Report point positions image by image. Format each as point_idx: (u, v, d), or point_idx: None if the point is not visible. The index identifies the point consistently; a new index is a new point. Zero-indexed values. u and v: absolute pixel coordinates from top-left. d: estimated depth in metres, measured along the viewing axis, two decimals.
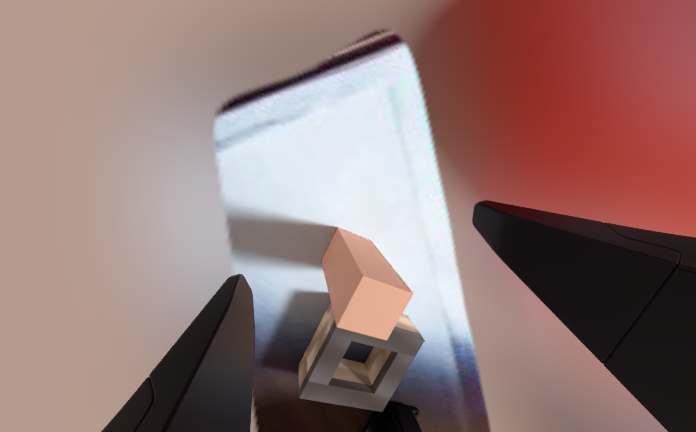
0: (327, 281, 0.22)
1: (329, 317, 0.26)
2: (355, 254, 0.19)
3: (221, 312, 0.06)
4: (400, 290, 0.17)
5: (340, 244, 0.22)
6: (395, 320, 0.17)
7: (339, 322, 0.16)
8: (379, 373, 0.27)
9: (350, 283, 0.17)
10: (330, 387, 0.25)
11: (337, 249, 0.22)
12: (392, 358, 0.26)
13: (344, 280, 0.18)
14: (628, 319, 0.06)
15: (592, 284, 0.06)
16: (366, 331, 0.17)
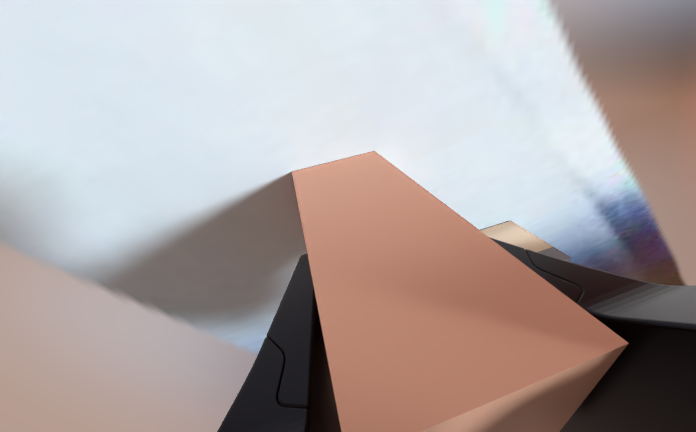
0: None
1: None
2: (326, 253, 0.06)
3: (311, 283, 0.07)
4: (563, 374, 0.03)
5: None
6: (565, 417, 0.05)
7: None
8: None
9: None
10: None
11: None
12: None
13: None
14: None
15: None
16: None
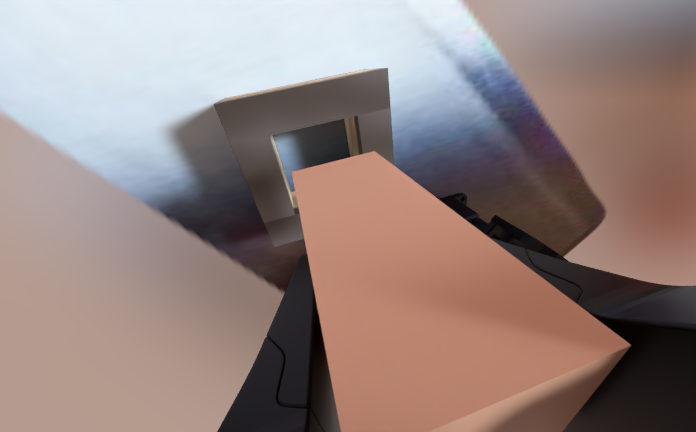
0: None
1: None
2: (326, 253, 0.06)
3: (311, 284, 0.07)
4: (565, 376, 0.03)
5: None
6: (566, 419, 0.05)
7: None
8: None
9: None
10: None
11: None
12: (358, 131, 0.16)
13: None
14: None
15: None
16: None
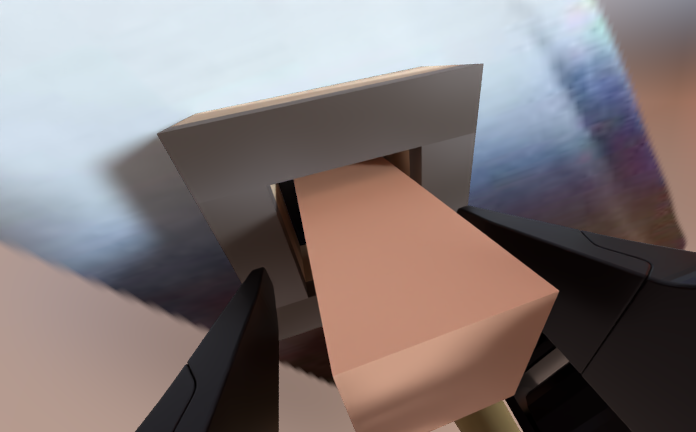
0: None
1: None
2: (320, 232, 0.07)
3: (250, 303, 0.07)
4: (505, 314, 0.04)
5: None
6: (521, 364, 0.05)
7: None
8: None
9: None
10: None
11: None
12: (418, 171, 0.10)
13: None
14: (602, 329, 0.06)
15: (567, 293, 0.06)
16: (449, 418, 0.06)
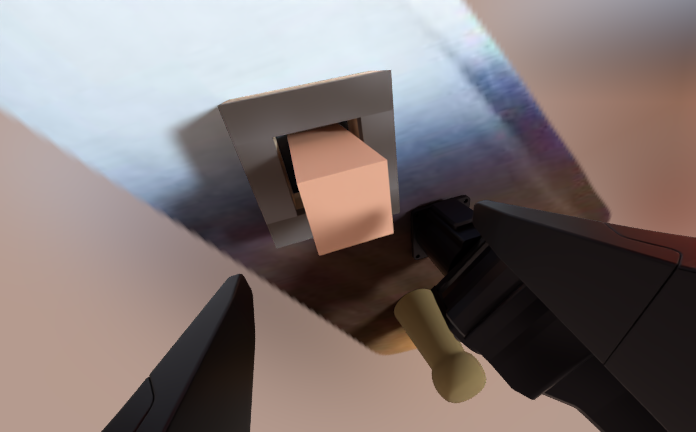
0: None
1: None
2: (299, 156, 0.13)
3: (221, 312, 0.06)
4: (365, 168, 0.11)
5: None
6: (387, 206, 0.12)
7: (318, 249, 0.12)
8: None
9: None
10: (303, 217, 0.18)
11: None
12: (361, 133, 0.16)
13: None
14: (628, 319, 0.06)
15: (591, 284, 0.06)
16: (359, 239, 0.12)
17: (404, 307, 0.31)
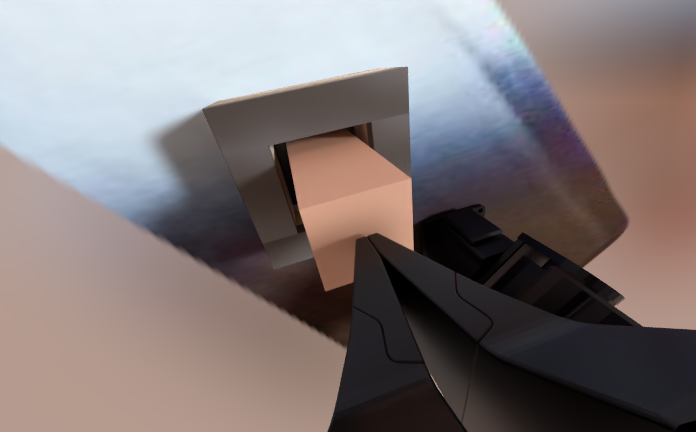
0: None
1: None
2: (301, 169, 0.11)
3: (378, 262, 0.07)
4: (384, 188, 0.09)
5: None
6: (408, 233, 0.10)
7: (324, 284, 0.10)
8: None
9: None
10: (304, 235, 0.16)
11: None
12: (372, 140, 0.14)
13: None
14: (463, 386, 0.05)
15: (437, 343, 0.06)
16: None
17: None
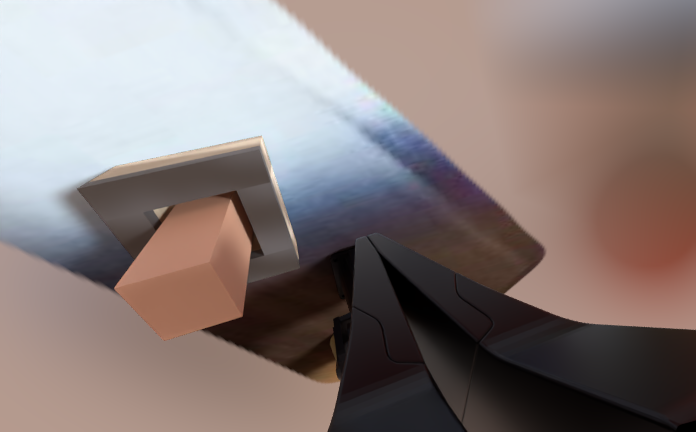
0: None
1: None
2: (158, 237, 0.14)
3: (378, 262, 0.07)
4: (186, 270, 0.11)
5: None
6: (226, 296, 0.12)
7: (161, 336, 0.13)
8: None
9: None
10: None
11: None
12: None
13: None
14: (463, 386, 0.05)
15: (437, 342, 0.06)
16: (204, 324, 0.13)
17: None
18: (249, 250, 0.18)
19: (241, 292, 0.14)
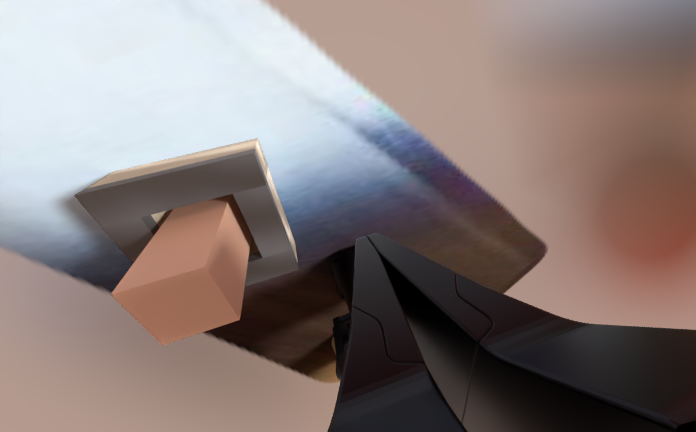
0: None
1: None
2: (155, 242, 0.14)
3: (378, 262, 0.07)
4: (182, 275, 0.11)
5: None
6: (223, 301, 0.12)
7: (159, 340, 0.13)
8: None
9: None
10: None
11: None
12: None
13: None
14: (464, 386, 0.05)
15: (437, 342, 0.06)
16: (202, 328, 0.13)
17: None
18: (247, 253, 0.18)
19: (238, 295, 0.14)
